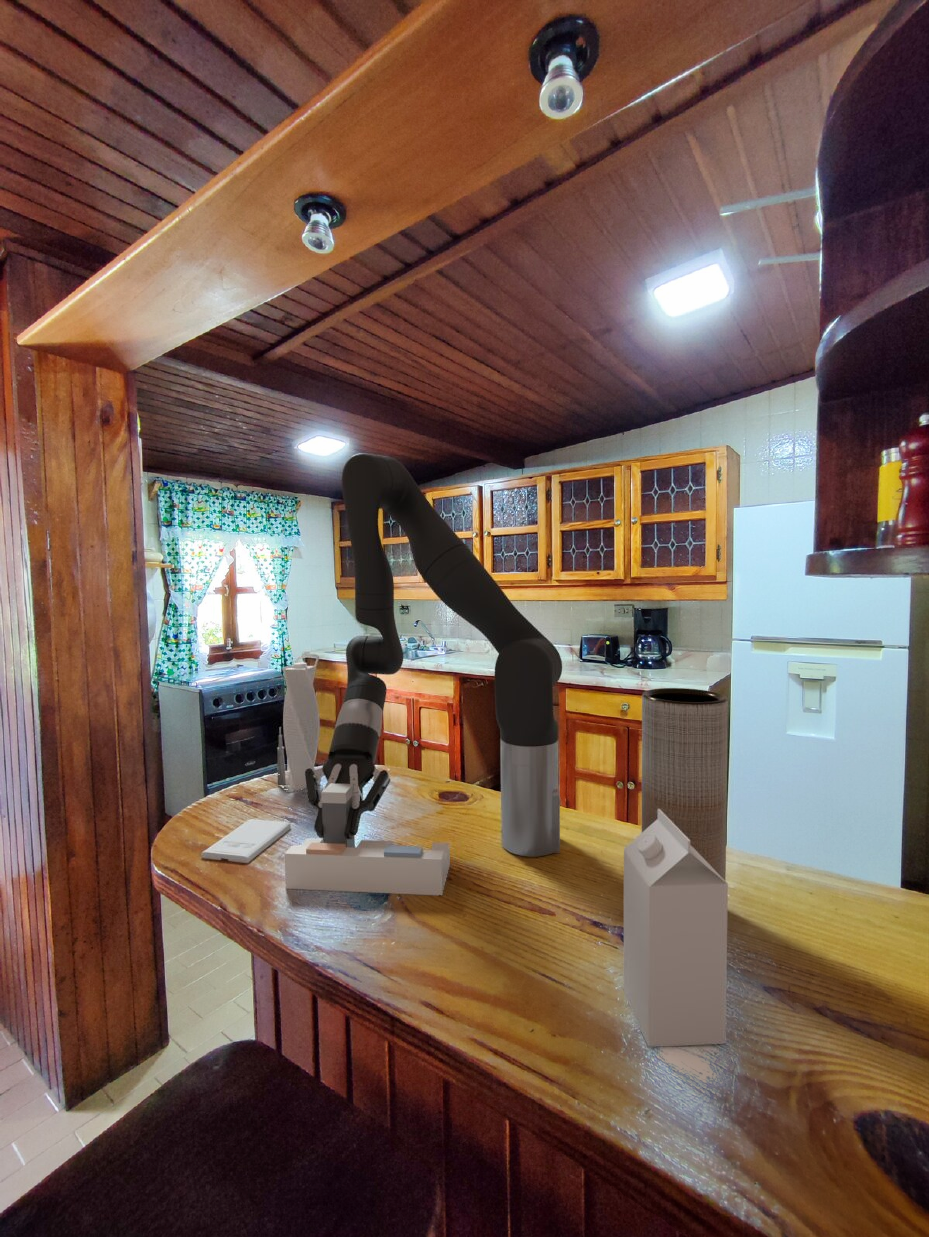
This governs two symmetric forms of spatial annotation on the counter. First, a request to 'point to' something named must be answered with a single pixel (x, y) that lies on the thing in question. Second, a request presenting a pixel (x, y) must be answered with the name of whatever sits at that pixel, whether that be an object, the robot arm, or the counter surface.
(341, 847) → the socket strip
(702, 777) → the vase
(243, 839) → the external hard drive
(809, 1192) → the counter surface
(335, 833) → the grey tall block
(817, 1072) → the counter surface
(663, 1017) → the milk carton
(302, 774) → the skyscraper
